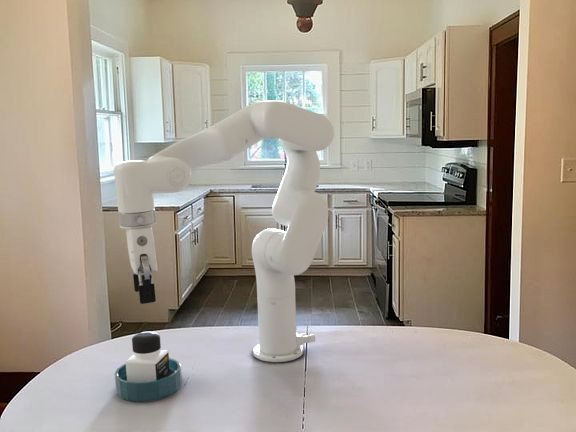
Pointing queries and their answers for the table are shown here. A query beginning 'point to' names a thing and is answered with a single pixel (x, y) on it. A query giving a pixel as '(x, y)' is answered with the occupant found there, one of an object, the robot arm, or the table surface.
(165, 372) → the medicine bottle
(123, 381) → the dish
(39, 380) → the table surface
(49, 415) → the table surface
